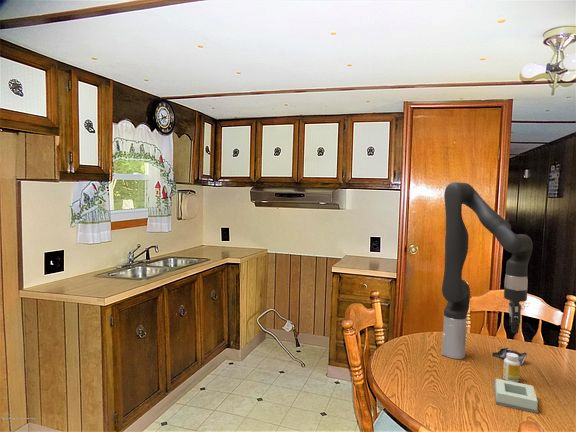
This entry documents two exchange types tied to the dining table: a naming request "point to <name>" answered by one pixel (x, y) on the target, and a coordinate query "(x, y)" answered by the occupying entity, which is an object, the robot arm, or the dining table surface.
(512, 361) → the supplement bottle
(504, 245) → the robot arm
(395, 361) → the dining table surface
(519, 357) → the snack package
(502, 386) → the socket board
